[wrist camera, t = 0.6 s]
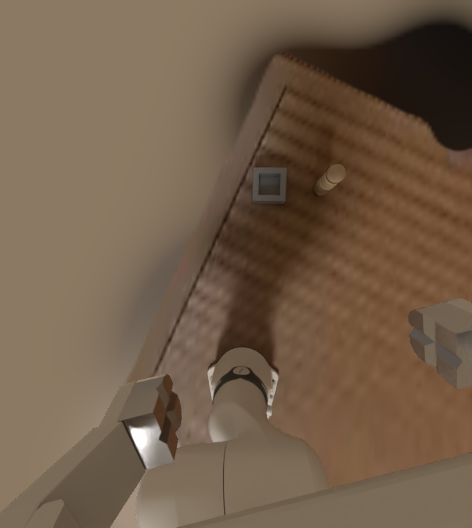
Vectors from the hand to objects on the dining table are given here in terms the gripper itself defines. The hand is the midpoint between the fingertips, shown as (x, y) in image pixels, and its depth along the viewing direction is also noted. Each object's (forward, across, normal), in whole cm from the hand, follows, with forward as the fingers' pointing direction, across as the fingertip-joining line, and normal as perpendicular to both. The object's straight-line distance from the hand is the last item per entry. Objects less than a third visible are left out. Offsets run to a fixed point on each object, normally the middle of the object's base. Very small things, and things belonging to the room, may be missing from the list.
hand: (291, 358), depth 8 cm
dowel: (+58, +24, +1) cm, 63 cm away
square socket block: (+60, +12, +4) cm, 62 cm away
